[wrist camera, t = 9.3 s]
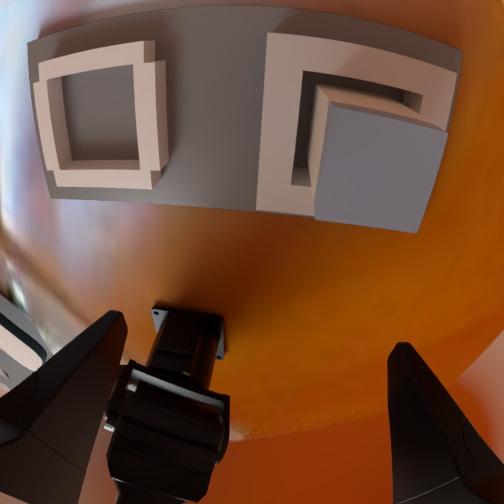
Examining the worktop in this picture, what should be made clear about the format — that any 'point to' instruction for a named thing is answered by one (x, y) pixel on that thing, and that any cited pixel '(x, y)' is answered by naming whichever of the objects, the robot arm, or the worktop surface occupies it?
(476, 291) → the worktop surface
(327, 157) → the plug
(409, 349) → the robot arm
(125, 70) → the panel
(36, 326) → the worktop surface
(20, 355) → the external hard drive
